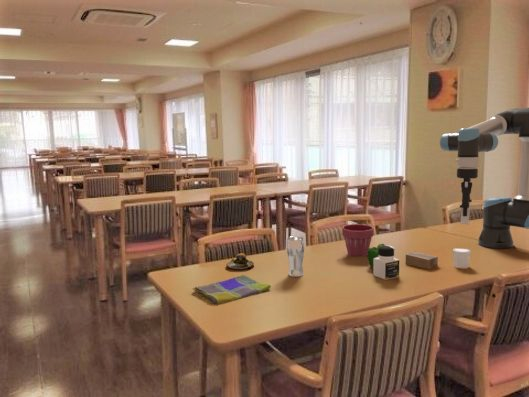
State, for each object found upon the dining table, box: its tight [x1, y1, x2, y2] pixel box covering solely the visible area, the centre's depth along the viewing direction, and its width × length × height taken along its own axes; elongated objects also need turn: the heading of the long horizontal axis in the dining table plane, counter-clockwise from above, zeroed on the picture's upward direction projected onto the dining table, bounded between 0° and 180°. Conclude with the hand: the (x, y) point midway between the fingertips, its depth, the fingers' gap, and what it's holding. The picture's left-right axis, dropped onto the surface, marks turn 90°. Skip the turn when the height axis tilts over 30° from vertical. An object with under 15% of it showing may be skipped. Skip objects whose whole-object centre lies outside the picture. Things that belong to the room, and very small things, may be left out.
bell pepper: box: [367, 243, 385, 268], centre depth 189 cm, size 8×8×10 cm
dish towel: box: [192, 274, 272, 305], centre depth 166 cm, size 18×24×3 cm
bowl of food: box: [226, 248, 255, 270], centre depth 195 cm, size 12×12×8 cm
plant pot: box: [341, 223, 375, 258], centre depth 209 cm, size 14×14×13 cm
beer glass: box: [286, 236, 305, 278], centre depth 182 cm, size 7×7×15 cm
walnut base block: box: [405, 251, 439, 270], centre depth 191 cm, size 6×11×4 cm, turn 37°
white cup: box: [452, 247, 472, 269], centre depth 187 cm, size 7×7×7 cm
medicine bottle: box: [372, 244, 400, 281], centre depth 177 cm, size 7×7×12 cm
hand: (465, 221), depth 181 cm, fingers open, 13 cm apart
